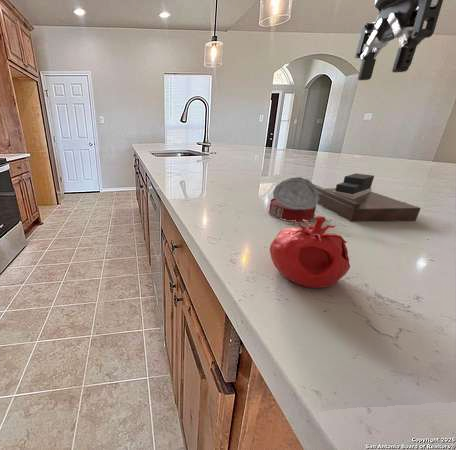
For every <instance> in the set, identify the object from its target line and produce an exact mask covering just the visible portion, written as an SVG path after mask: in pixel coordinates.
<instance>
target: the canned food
mask: <svg viewBox="0 0 456 450" xmlns="http://www.w3.org/2000/svg"><path fill="white" fill-rule="evenodd" d="M314 185H315V184H314V183H313V182H312V181H311V180H309V179H307V178H303V177H297V176H296V177H290V178H287V179H285V180H281V182H279V183H278V184H277V185H276V186H275V188H274V189H273V191H272V194H273V198H271V199H270V203H269V208H268V214H269V213H270V214H271V215H270V214H269V215H270V216H272V215H273V216H275V217H274V218H276V217H278V218H277V219H279V218H282V219H286V220H285V221H287V220H294V221H293V222H296V221H303V219H304V220H310V221H312V220H314V218H313V217H315V212H316V209H317V205H319V204H318V201H319V194H318V191H317V189H316V188H315V186H314ZM273 216H272V217H273ZM282 219H281V220H282ZM311 219H312V220H311ZM295 220H296V221H295Z"/></svg>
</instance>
